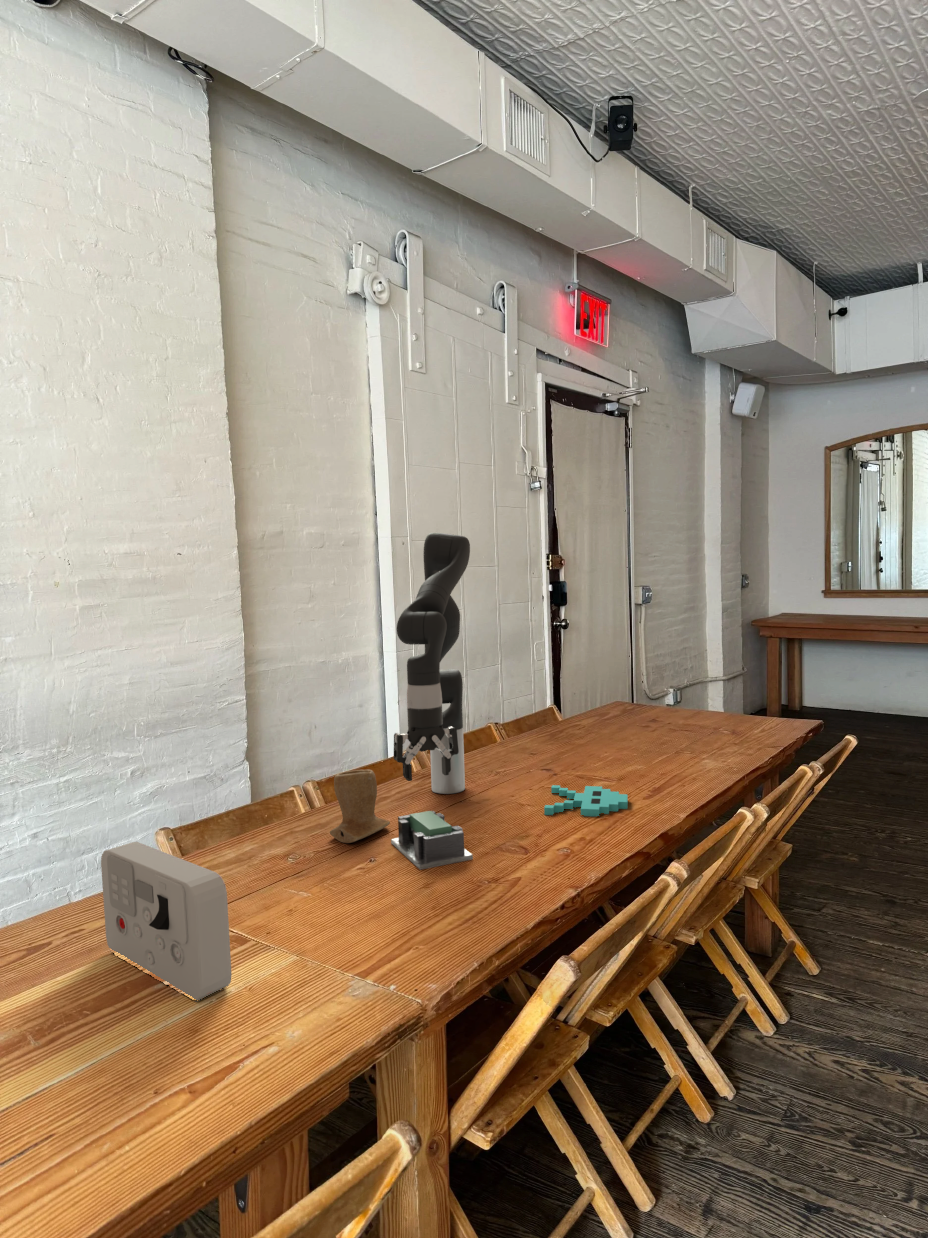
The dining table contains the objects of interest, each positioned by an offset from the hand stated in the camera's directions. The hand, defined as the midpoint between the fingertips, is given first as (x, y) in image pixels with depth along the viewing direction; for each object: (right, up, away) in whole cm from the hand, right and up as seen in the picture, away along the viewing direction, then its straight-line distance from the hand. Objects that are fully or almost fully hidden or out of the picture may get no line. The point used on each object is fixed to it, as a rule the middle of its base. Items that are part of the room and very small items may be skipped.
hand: (427, 777), depth 181 cm
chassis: (+1, -16, +1) cm, 16 cm away
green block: (+1, -12, +1) cm, 12 cm away
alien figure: (+40, -13, +32) cm, 52 cm away
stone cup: (-17, -16, +14) cm, 27 cm away
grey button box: (-39, -22, -48) cm, 66 cm away
